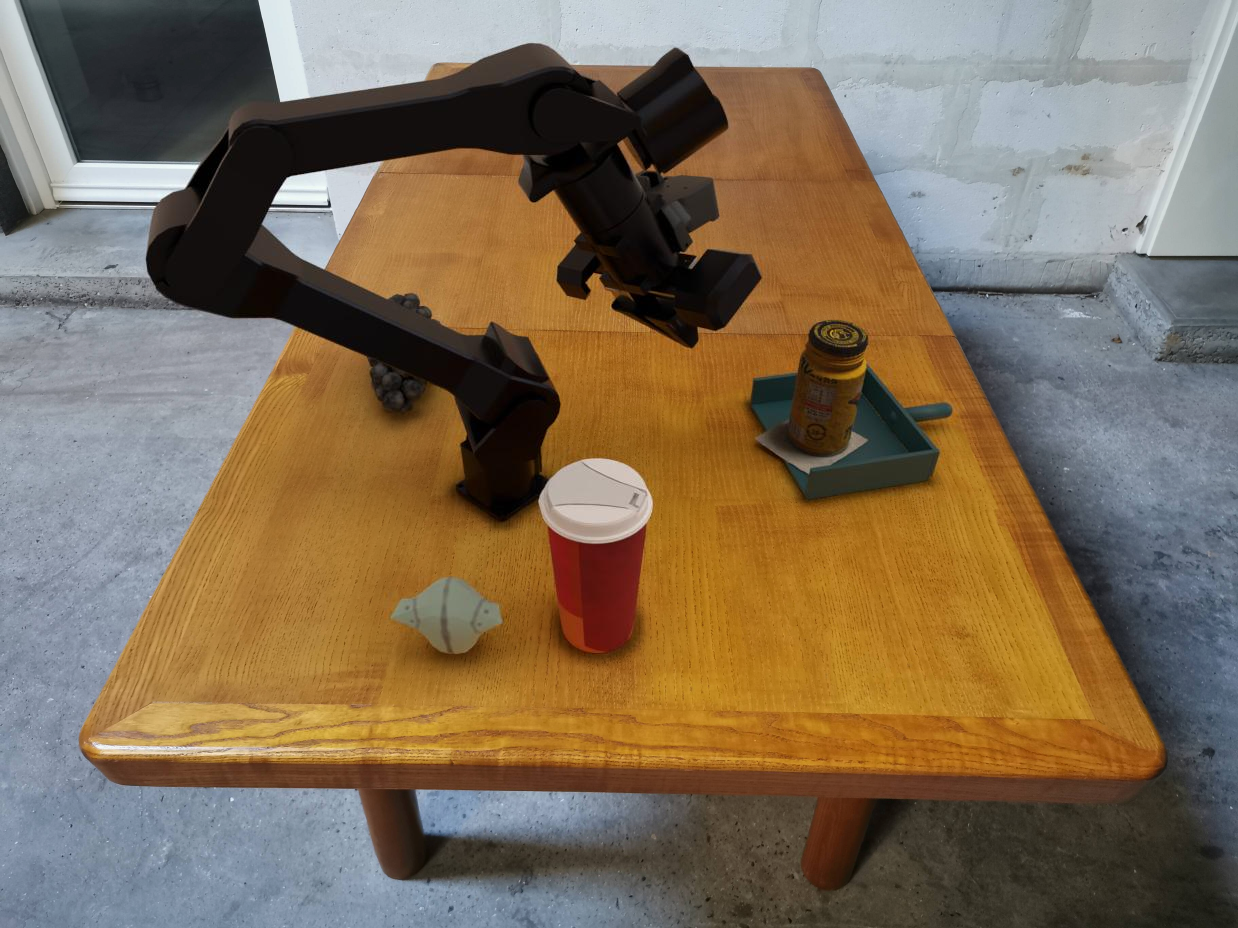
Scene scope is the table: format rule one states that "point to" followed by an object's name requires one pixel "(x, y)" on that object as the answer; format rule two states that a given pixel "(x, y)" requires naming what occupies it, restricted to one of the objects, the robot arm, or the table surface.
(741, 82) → the table surface
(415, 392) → the fruit
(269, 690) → the table surface
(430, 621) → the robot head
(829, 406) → the condiment
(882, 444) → the teal dustpan
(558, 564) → the paper cup
